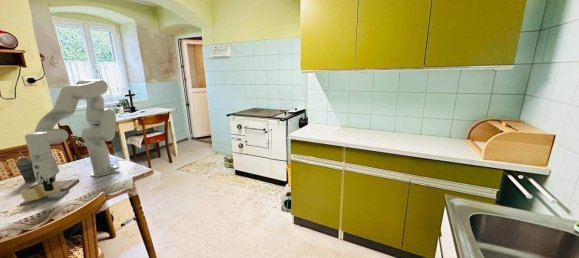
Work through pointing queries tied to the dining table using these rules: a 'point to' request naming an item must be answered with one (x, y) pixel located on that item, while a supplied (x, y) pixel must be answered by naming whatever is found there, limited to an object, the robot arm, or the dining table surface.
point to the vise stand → (65, 184)
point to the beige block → (38, 191)
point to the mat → (47, 198)
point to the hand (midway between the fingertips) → (51, 189)
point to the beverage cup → (26, 169)
